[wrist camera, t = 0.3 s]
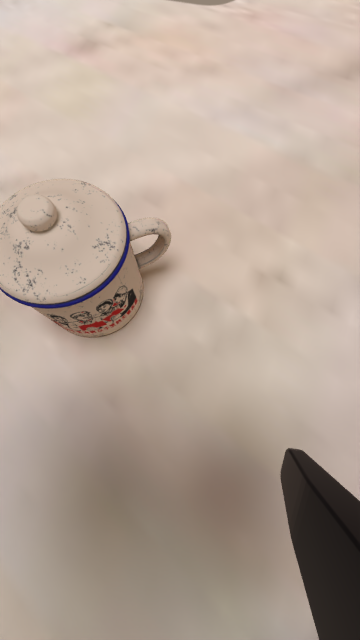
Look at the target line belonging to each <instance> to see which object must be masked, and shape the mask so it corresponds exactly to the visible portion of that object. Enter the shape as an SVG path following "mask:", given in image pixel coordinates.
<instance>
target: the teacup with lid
mask: <svg viewBox="0 0 360 640" xmlns="http://www.w3.org/2000/svg"><path fill="white" fill-rule="evenodd" d="M150 234H158V235H159V236H158V239H157V240H156V242H155V243H154V244H153V245H152V246H151V247H150V248H149V249H147V250H145V251H143V252H141V253H139V254H136V255H134V253H133V250H132V247H131V244H130V241H132V240H135V239H137V238H140V237H143V236H146V235H150ZM170 241H171V233H170V230H169V228H168V226H167V224H166V223H165V222H164V221H163V220H161V219H157V218H143V219H139V220H136V221H133V222H130V223H127V220H126V217H125V215H124V213H123V211H122V210H121V208H120V207H119V205H118V204H117V203H116V202H115V201H114V200H113V199H112V198H111V197H110V196H109V195H108V194H107V193H105V192H104V191H102V190H101V189H99V188H97V187H96V186H94V185H91V184H89V183H86V182H83V181H79V180H72V179H53V180H47V181H42V182H39V183H36V184H33V185H30V186H28V187H26V188H24V189H22V190H20V191H18V192H17V193H15V194H14V195H13V196H11V197H10V198H9V199H8V200H6V201H5V202H4V203H3V204H2V205H1V206H0V290H1V291H2V292H3V293H5V294H6V295H7V296H8V297H10V298H12V299H13V300H15V301H17V302H19V303H21V304H24V305H27V306H31V307H32V308H34V309H35V310H37V311H38V312H40V313H42V314H43V315H45V316H46V317H48V318H49V319H51V320H52V321H54V322H55V323H57V324H58V325H60V326H61V327H63V328H64V329H66V330H67V331H69V332H71V333H73V334H76V335H80V336H85V337H98V336H104V335H107V334H110V333H113V332H115V331H117V330H119V329H120V328H122V327H123V326H124V325H126V324H127V323H128V322H129V321H130V320H131V319H132V318H133V316H134V315H135V313H136V312H137V310H138V308H139V306H140V304H141V301H142V296H143V282H142V277H141V274H140V271H139V269H140V268H142V267H145V266H147V265H149V264H151V263H153V262H155V261H156V260H158V259H159V258H160V257H161V256H162V255H163V254H164V253H165V252H166V250H167V249H168V247H169V245H170Z"/></svg>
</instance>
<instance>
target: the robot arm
mask: <svg viewBox="0 0 360 640" xmlns="http://www.w3.org/2000/svg"><path fill="white" fill-rule="evenodd" d="M281 483H282V489H283V495H284V501H285V506H286V512H287V518H288V524H289V529H290V534H291V539H292V543H293V547H294V550H295V554H296V558H297V561H298V565H299V568H300V572H301V576H302V579H303V583H304V587H305V590H306V594H307V597H308V601H309V605H310V608H311V612H312V615H313V619H314V623H315V626H316V630H317V633H318V637H319V640H360V501H359V500H358V499H357V498H356V497H354V496H353V495H352V494H351V493H350V492H349V491H348V490H347V489H345V488H344V487H343V486H342V485H341V484H340V483H339V482H338V481H336V480H335V479H334V478H333V477H332V476H331V475H330V474H328V473H327V472H326V471H325V470H324V469H323V468H322V467H321V466H319V465H318V464H317V463H316V462H315V461H314V460H313V459H312V458H310V457H309V456H308V455H307V454H306V453H305V452H304V451H302V450H299V449H292V448H288V449H287V450H286V452H285V456H284V460H283V464H282V468H281Z"/></svg>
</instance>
